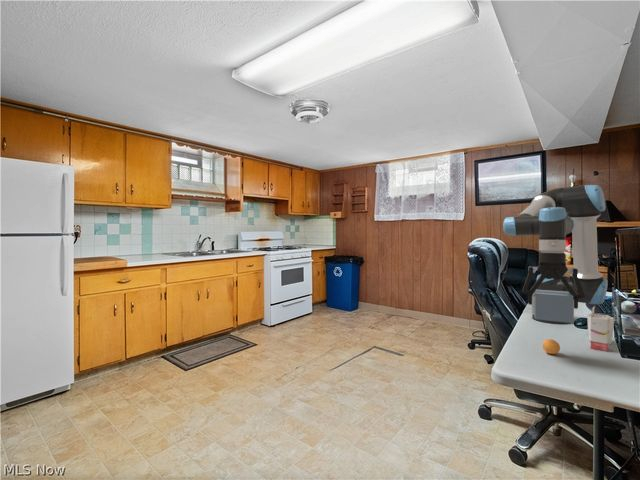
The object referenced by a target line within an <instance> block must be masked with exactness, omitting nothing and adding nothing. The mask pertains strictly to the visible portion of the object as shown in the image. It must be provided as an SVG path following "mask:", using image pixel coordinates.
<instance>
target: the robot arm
mask: <svg viewBox="0 0 640 480" xmlns="http://www.w3.org/2000/svg"><path fill="white" fill-rule="evenodd" d="M605 211H606V198H605V194H604V190H603V189H602V187H601V186H600V185H598V184H584V185H576V186H567V187H557V188H552V189H550V190H547V191H545V192H543V193H540V194H538V195H537V196H536V197H534V198H533V199H532V200H531V202H530V205H528V206H527V207H526V208H525V209H523V211H522V212H520V213H519V214H518V215H517V216H510V217H509V216H506V217H505V218H504V219H503V223H502V224H503V225H502V229H503V232H504V234H505V235H506V236H514V237H515V236H516V237H517V236H539V237H538V251H540V252H539V253H538V266H528V269H527V270H528V274H527V276H526V279H525V282H524V283H523V284H524V285H523V287H522V290H521V292H522V294H524V295H527V304H528V305H530V306H531V319H532V320H535V321H538V322H541V323H548V324H557V325H567V324H569V323H566V322H557V321H548V320H538V319H535V317H534V315H535V296H534V295H533V293H534V292H535V291H536V290H551V291H566V292H569V293H570V294H571V295H572V296H573V320H574V319H575V309H576V310H577V309H578V308H579V303H583V304H589V305H602V304H604V302H605V299H606V295H607V290H608V285H609V284H608V282H609V281H608V279H606V278H603V277H604V274H603V273H601V272H600V271H599V261H598V259H599V258H598V257H599V256H598V254H599V253H598V231H597V228H598V227H597V223H598V222H597V219H598V218H600V216H601V214H602V212H605ZM568 234H572V235H571V238H572V257H573V258H572V259H573V260H572V261H573V262H572V263H573V267H572V268H569V267H567V254H566V253H565V252H566V251H567V249H566V248H567V246H566V245H567V244H566V243H567V242H566V241H567V240H566V238H567V235H568ZM536 271H538V272H539V273H540V274H538V275H537V277H536V281H535V283H534V284H533V285H532V287H531V288H530V289H529V290H528V288H529V286H530V283H531V280H532V278H533V276H534V274H535V273H536ZM567 272H568V274H569V276H567V274H566V273H567Z"/></svg>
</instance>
